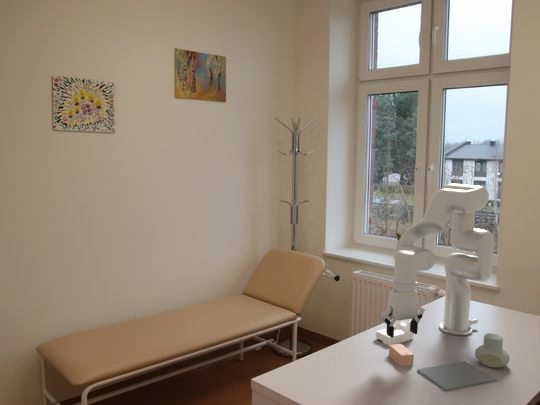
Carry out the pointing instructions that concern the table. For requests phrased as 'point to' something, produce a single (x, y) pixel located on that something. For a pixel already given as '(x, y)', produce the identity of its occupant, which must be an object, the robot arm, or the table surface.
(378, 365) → the table surface
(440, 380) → the mat
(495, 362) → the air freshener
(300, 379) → the table surface
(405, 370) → the table surface
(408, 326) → the bracket
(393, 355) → the card box
